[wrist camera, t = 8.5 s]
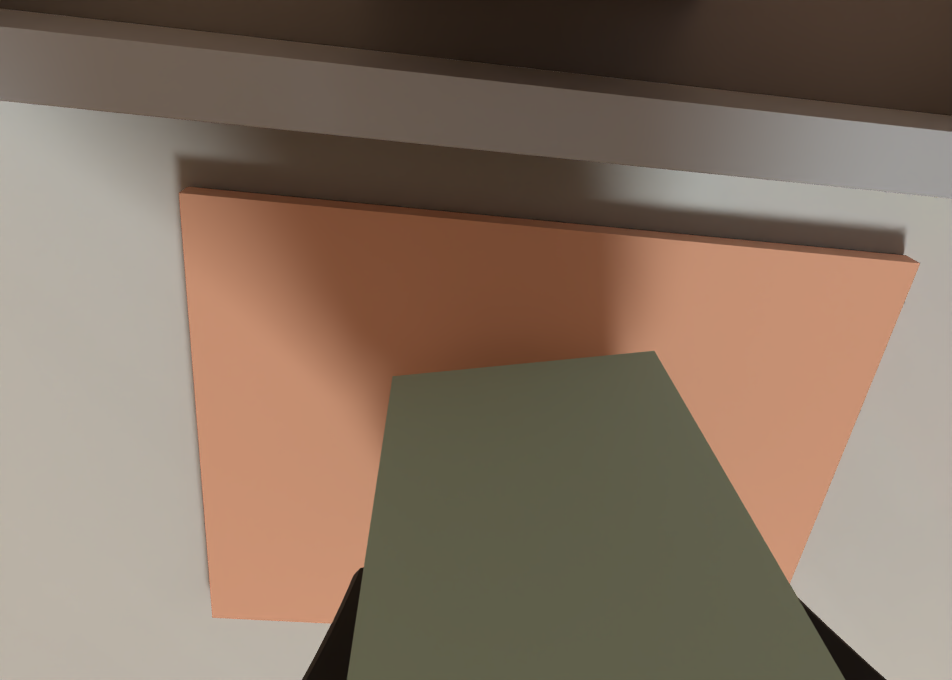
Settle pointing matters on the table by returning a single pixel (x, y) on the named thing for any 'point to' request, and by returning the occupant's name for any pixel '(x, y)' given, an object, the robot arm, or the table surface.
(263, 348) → the mat
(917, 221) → the table surface
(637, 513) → the labelled box
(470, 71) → the parts bin
